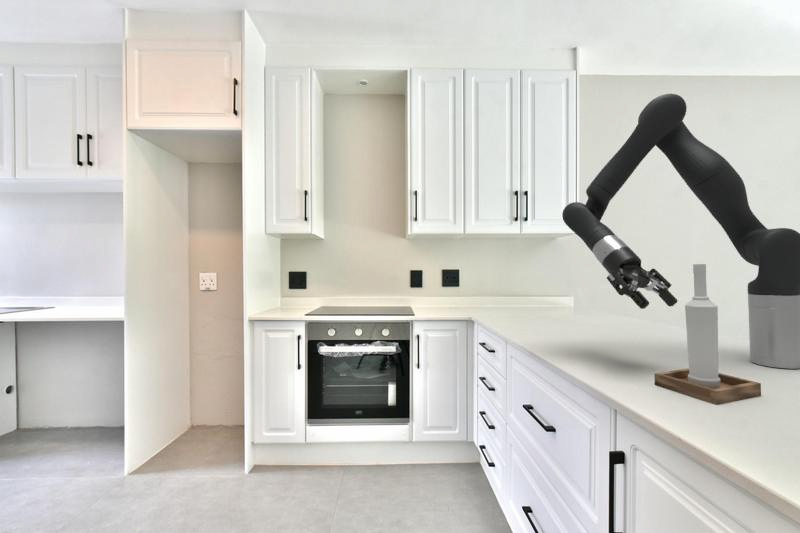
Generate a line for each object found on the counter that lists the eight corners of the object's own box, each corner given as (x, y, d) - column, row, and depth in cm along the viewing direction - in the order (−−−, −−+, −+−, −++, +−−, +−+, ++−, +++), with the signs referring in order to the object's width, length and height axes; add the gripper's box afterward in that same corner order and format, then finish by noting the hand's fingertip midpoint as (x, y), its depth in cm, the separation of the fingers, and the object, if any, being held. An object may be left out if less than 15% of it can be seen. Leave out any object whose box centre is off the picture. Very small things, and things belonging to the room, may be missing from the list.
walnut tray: (695, 377, 82) (695, 367, 82) (761, 395, 70) (760, 383, 70) (654, 384, 78) (654, 373, 78) (716, 404, 67) (716, 391, 67)
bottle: (727, 390, 71) (722, 263, 71) (697, 389, 73) (692, 264, 73) (710, 381, 77) (706, 263, 77) (682, 381, 78) (678, 264, 78)
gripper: (601, 246, 89) (647, 296, 78) (646, 245, 93) (694, 292, 82) (585, 267, 94) (625, 317, 83) (628, 266, 98) (671, 313, 87)
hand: (660, 305), depth 83 cm, fingers open, 8 cm apart
